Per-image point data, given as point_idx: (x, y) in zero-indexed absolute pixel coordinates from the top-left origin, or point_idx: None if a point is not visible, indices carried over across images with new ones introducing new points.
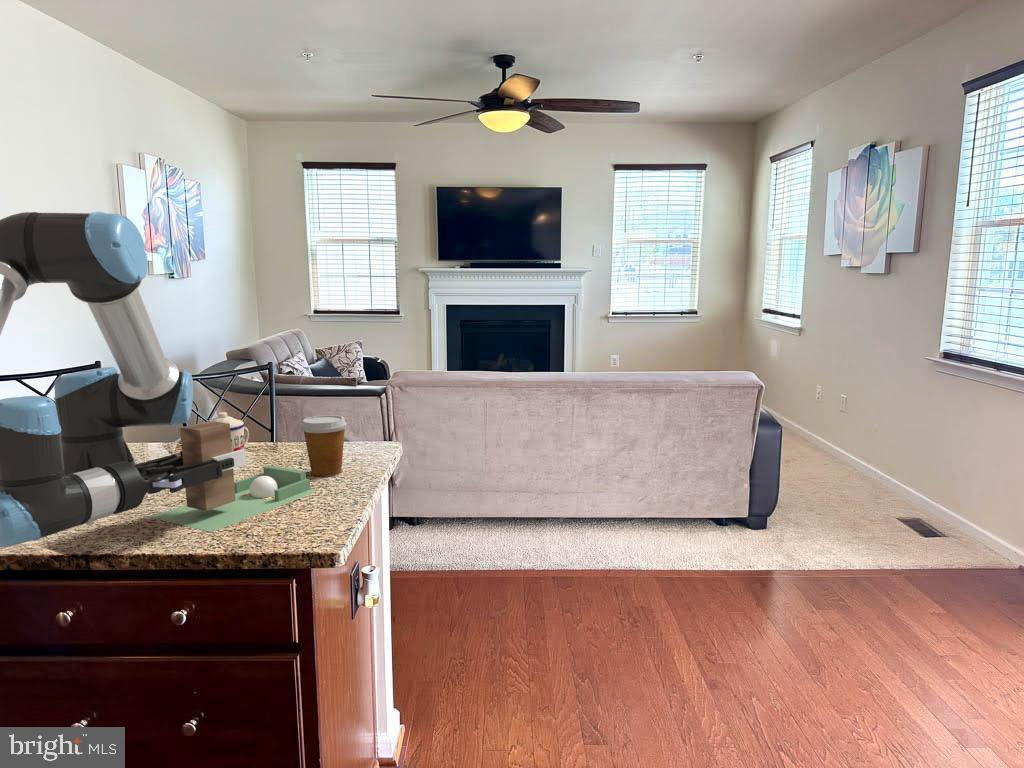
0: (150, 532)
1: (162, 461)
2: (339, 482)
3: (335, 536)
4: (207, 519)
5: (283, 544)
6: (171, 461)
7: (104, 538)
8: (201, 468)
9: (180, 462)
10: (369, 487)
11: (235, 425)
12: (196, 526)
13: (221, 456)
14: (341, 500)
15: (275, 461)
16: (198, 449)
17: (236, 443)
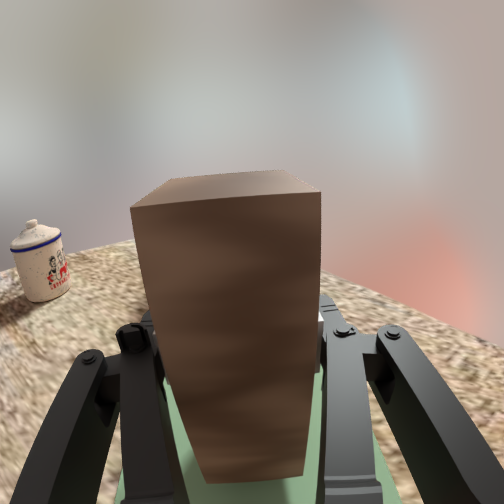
0: None
1: (85, 415)
2: None
3: (500, 358)
4: (292, 484)
5: (500, 418)
6: (161, 419)
7: None
8: (451, 393)
9: (160, 388)
10: (327, 274)
11: (54, 234)
12: None
13: None
14: (352, 305)
15: (113, 274)
16: (292, 308)
17: (60, 261)
